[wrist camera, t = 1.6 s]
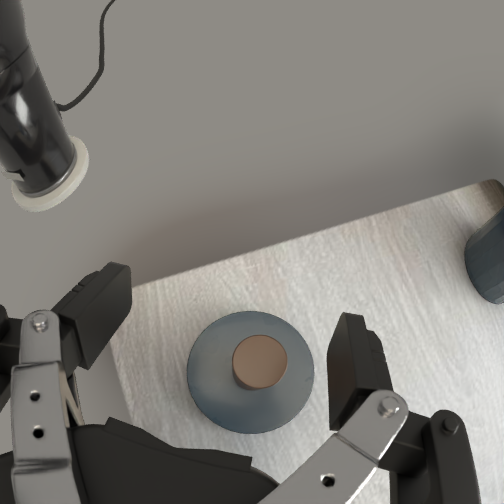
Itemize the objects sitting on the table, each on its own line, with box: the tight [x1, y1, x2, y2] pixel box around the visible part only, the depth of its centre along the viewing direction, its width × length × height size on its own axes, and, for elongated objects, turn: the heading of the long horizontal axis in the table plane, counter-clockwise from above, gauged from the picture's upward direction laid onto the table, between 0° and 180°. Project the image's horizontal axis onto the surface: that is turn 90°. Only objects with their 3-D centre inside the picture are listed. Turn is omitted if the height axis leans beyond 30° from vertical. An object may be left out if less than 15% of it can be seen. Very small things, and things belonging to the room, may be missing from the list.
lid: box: [187, 311, 314, 434], centre depth 19 cm, size 10×10×9 cm
